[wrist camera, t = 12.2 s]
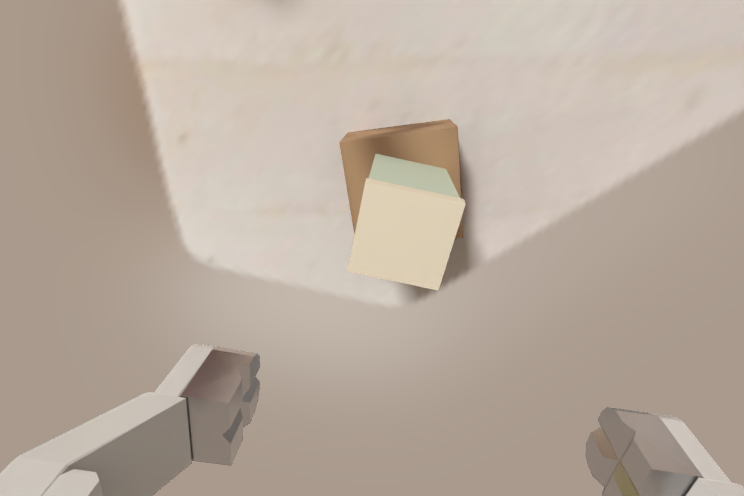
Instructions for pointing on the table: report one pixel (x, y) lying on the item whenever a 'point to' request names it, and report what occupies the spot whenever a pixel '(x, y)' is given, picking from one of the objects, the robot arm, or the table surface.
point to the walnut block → (399, 154)
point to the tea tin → (406, 223)
